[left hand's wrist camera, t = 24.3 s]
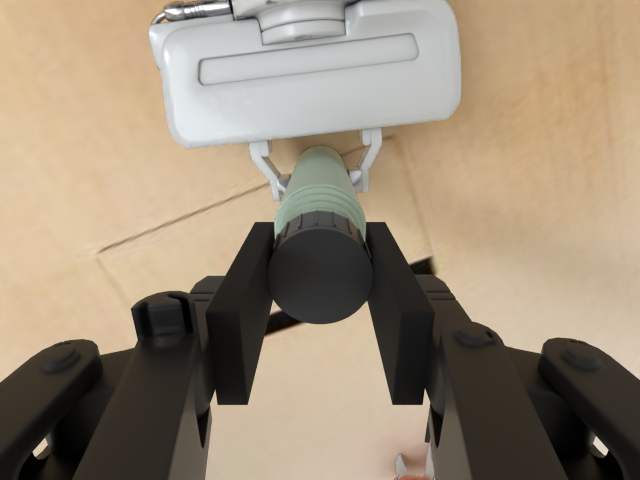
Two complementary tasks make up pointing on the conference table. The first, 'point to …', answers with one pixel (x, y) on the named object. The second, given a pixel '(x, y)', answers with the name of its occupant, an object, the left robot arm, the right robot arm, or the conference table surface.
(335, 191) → the bottle
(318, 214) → the cap
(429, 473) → the fish
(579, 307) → the conference table surface
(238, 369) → the left robot arm
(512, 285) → the conference table surface
